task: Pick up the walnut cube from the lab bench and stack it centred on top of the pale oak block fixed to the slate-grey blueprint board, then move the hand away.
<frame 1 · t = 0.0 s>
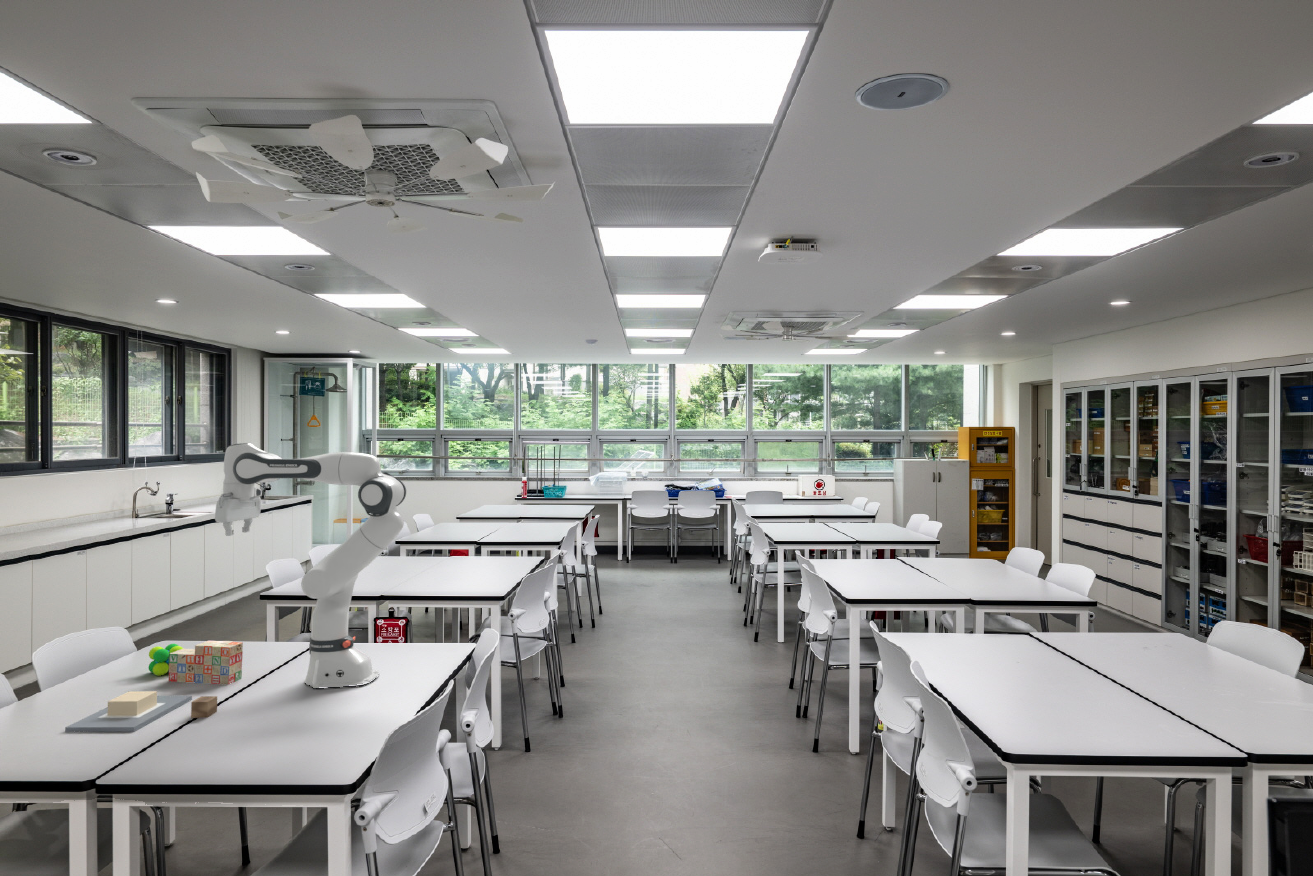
hand: (237, 533, 226), 48 cm above the table, tool pointing down, fingers open, 8 cm apart
blueprint board: (132, 714, 195), on the table
molecule model: (166, 673, 232), on the table
stack of blocks: (205, 681, 225), on the table
walnut cube: (204, 715, 196), on the table
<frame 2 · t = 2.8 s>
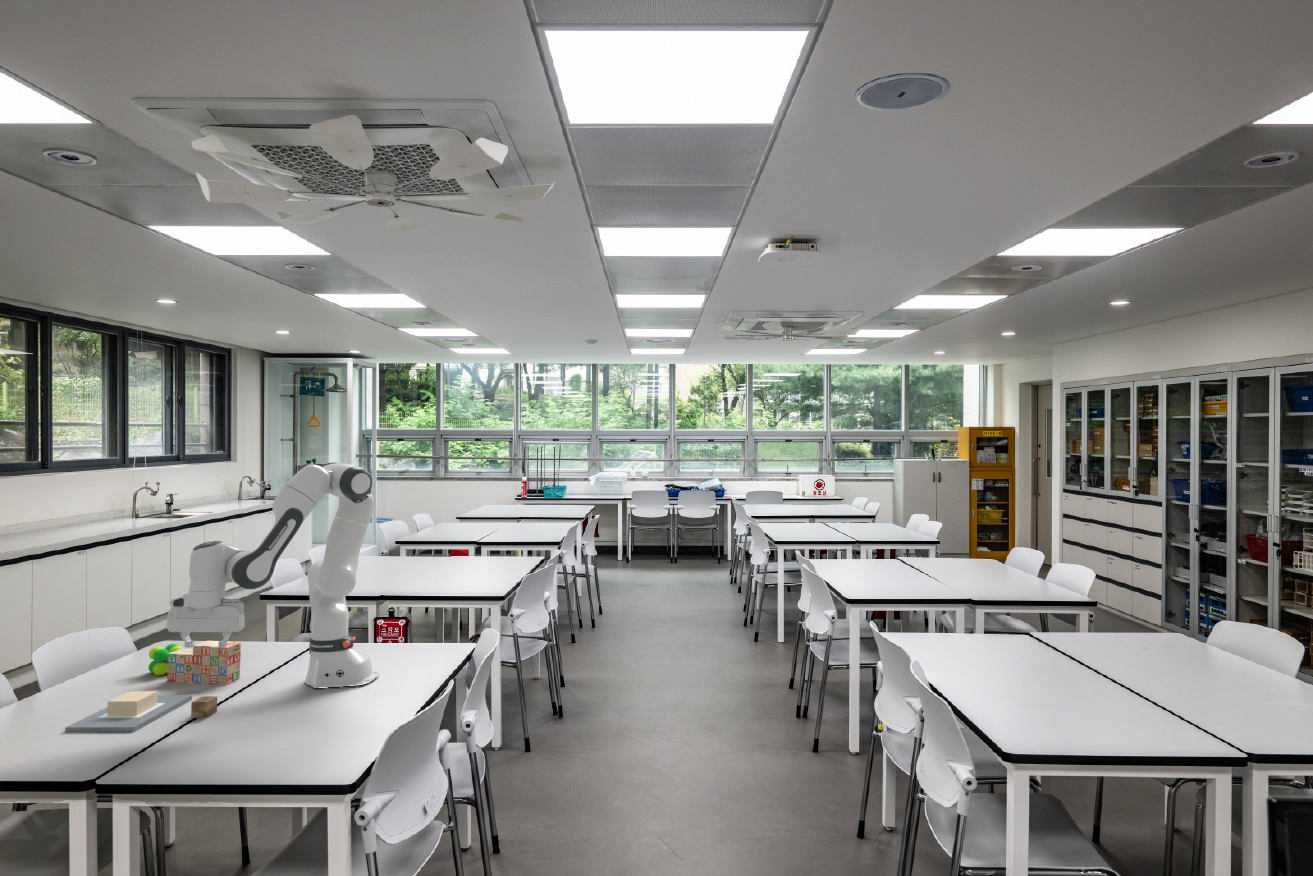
hand: (205, 647, 196), 19 cm above the table, tool pointing down, fingers open, 8 cm apart
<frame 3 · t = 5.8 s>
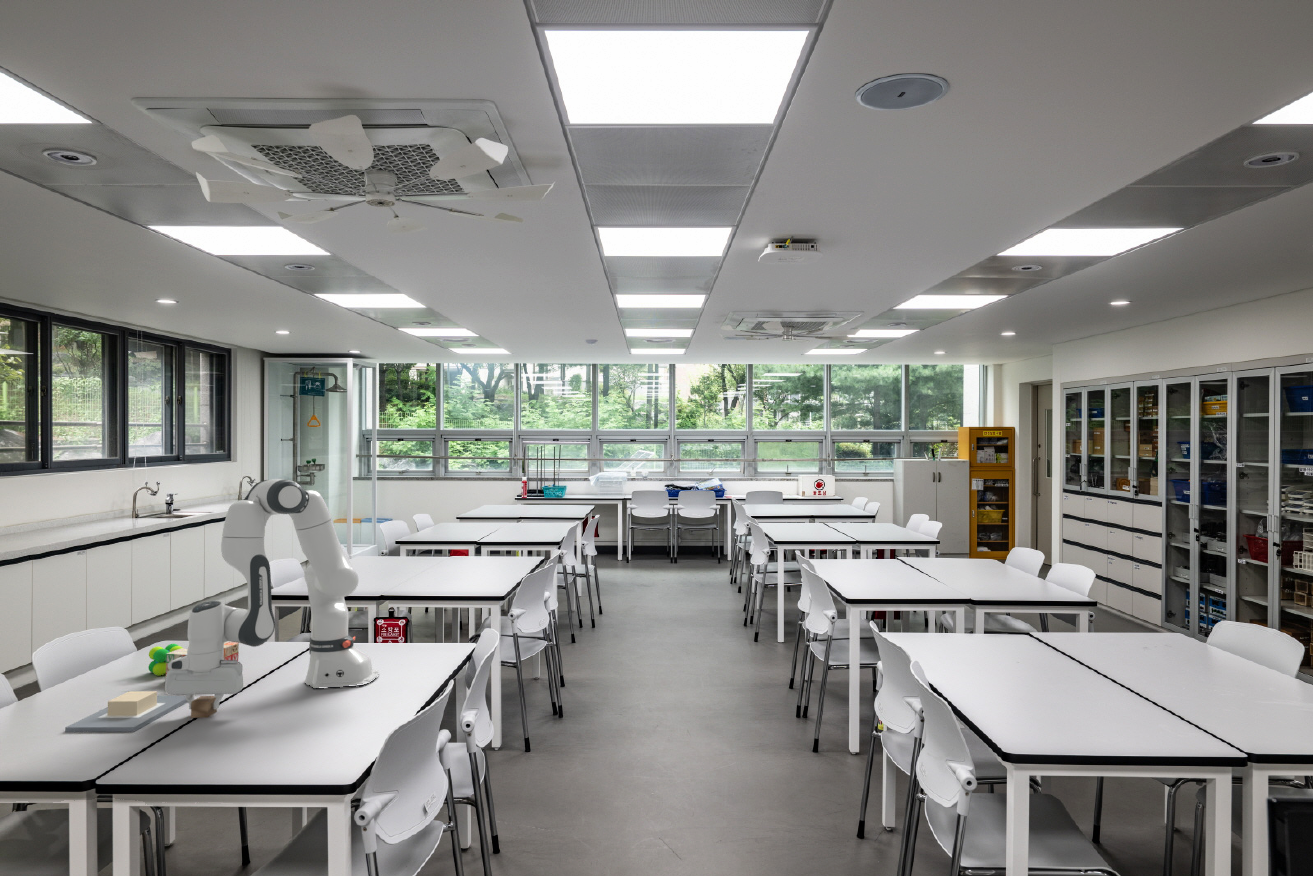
hand: (204, 708, 196), 2 cm above the table, tool pointing down, fingers closed on walnut cube, 4 cm apart
walnut cube: (204, 714, 196), on the table, touching gripper
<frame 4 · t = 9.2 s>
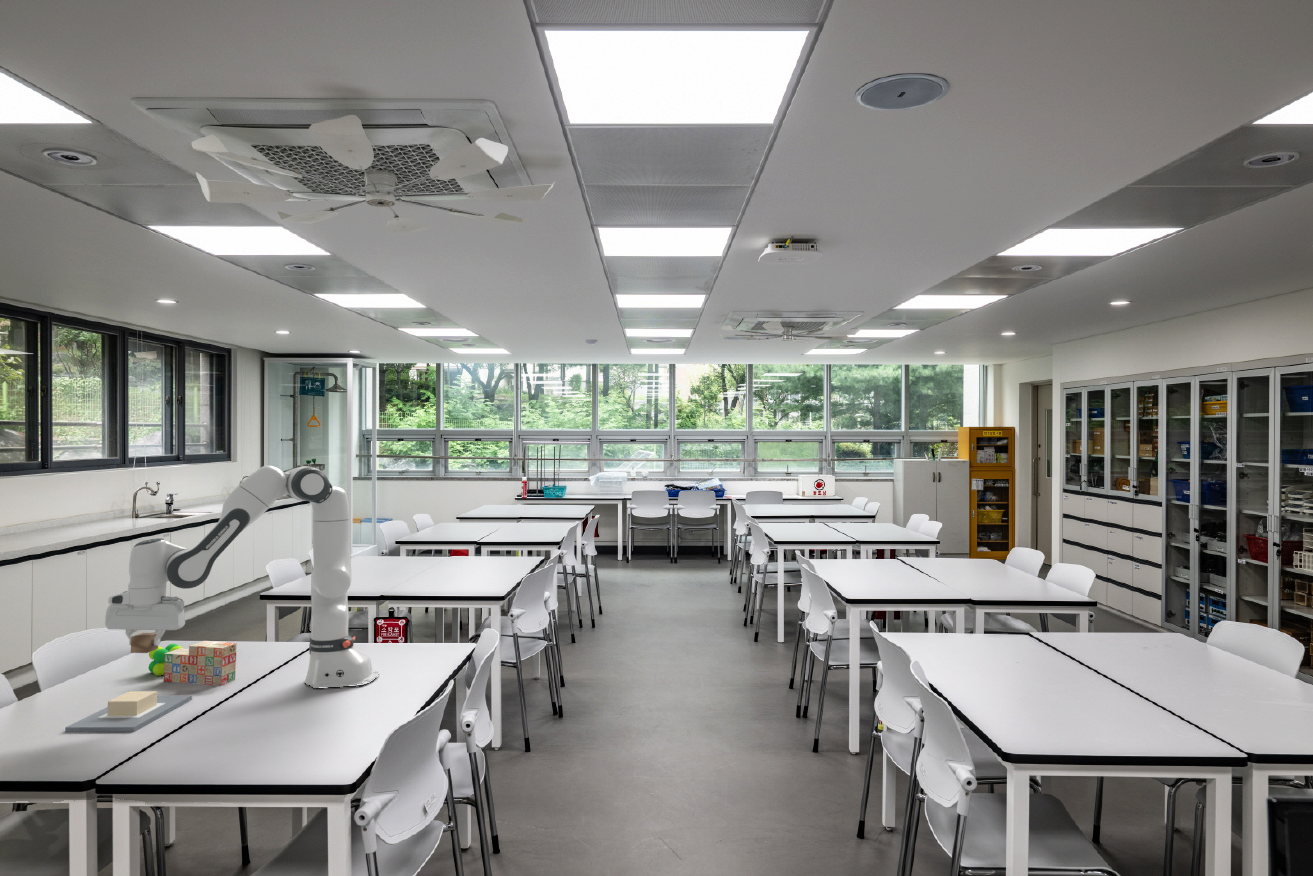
hand: (144, 645, 195), 20 cm above the table, tool pointing down, fingers closed on walnut cube, 4 cm apart
walnut cube: (144, 650, 195), point 18 cm above the table, touching gripper
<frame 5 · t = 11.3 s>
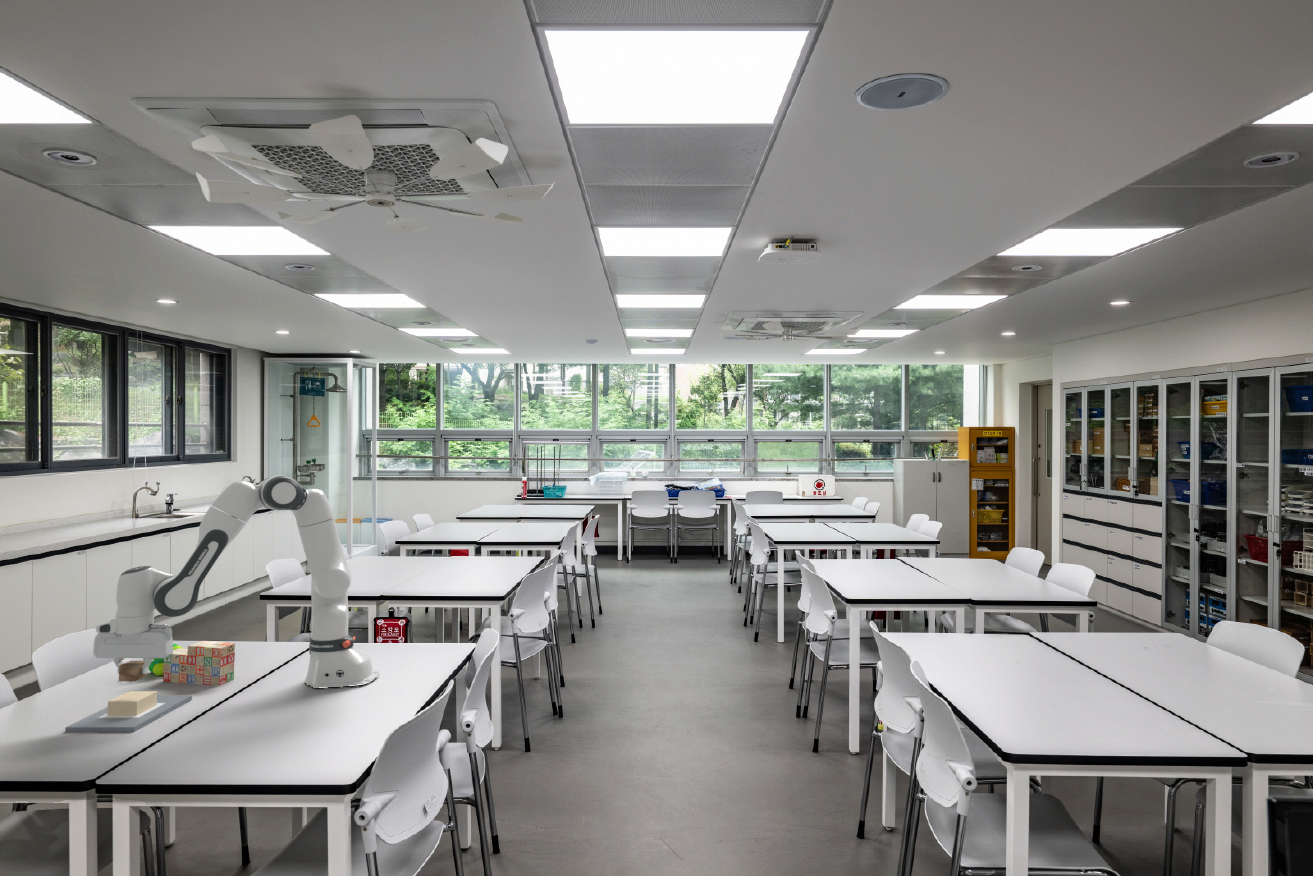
hand: (133, 673, 195), 12 cm above the table, tool pointing down, fingers closed on walnut cube, 4 cm apart
walnut cube: (132, 678, 195), point 10 cm above the table, touching gripper
when the fingers open (9 cm above the table, at t = 13.0 s): walnut cube drops 2 cm, resting on blueprint board.
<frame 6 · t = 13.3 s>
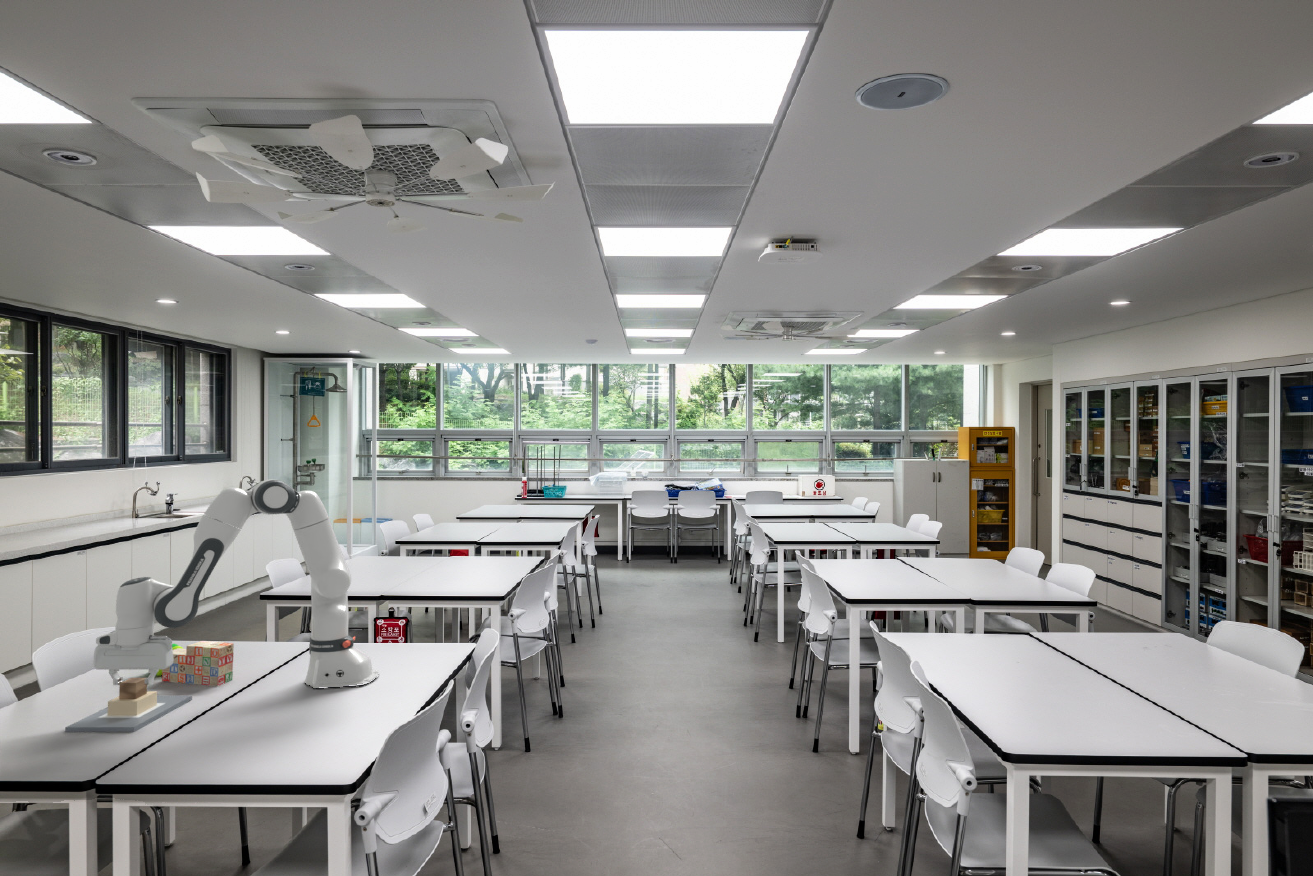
hand: (133, 684, 195), 9 cm above the table, tool pointing down, fingers open, 7 cm apart
walnut cube: (133, 696, 195), point 5 cm above the table, touching blueprint board
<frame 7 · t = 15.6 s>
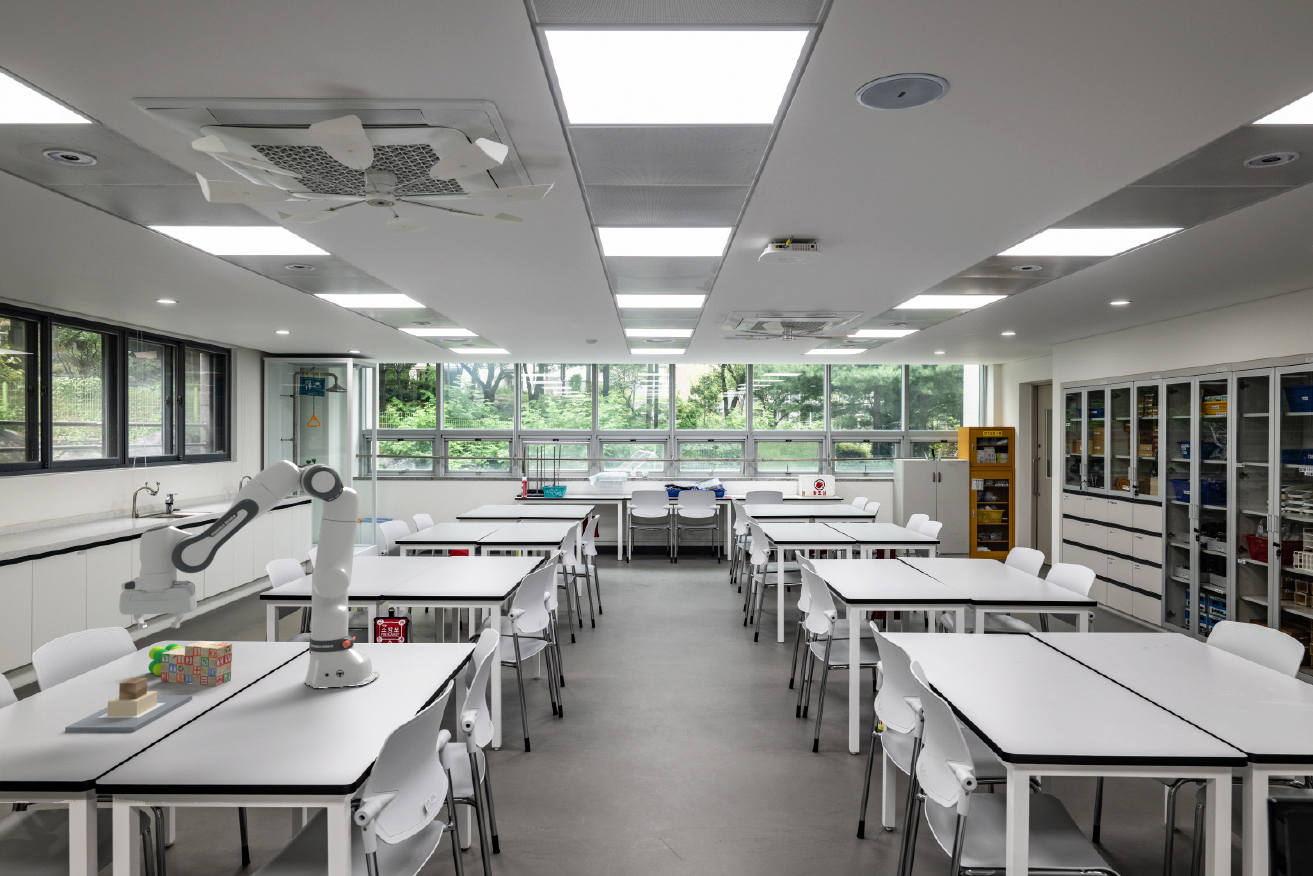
hand: (159, 628, 201), 23 cm above the table, tool pointing down, fingers open, 8 cm apart
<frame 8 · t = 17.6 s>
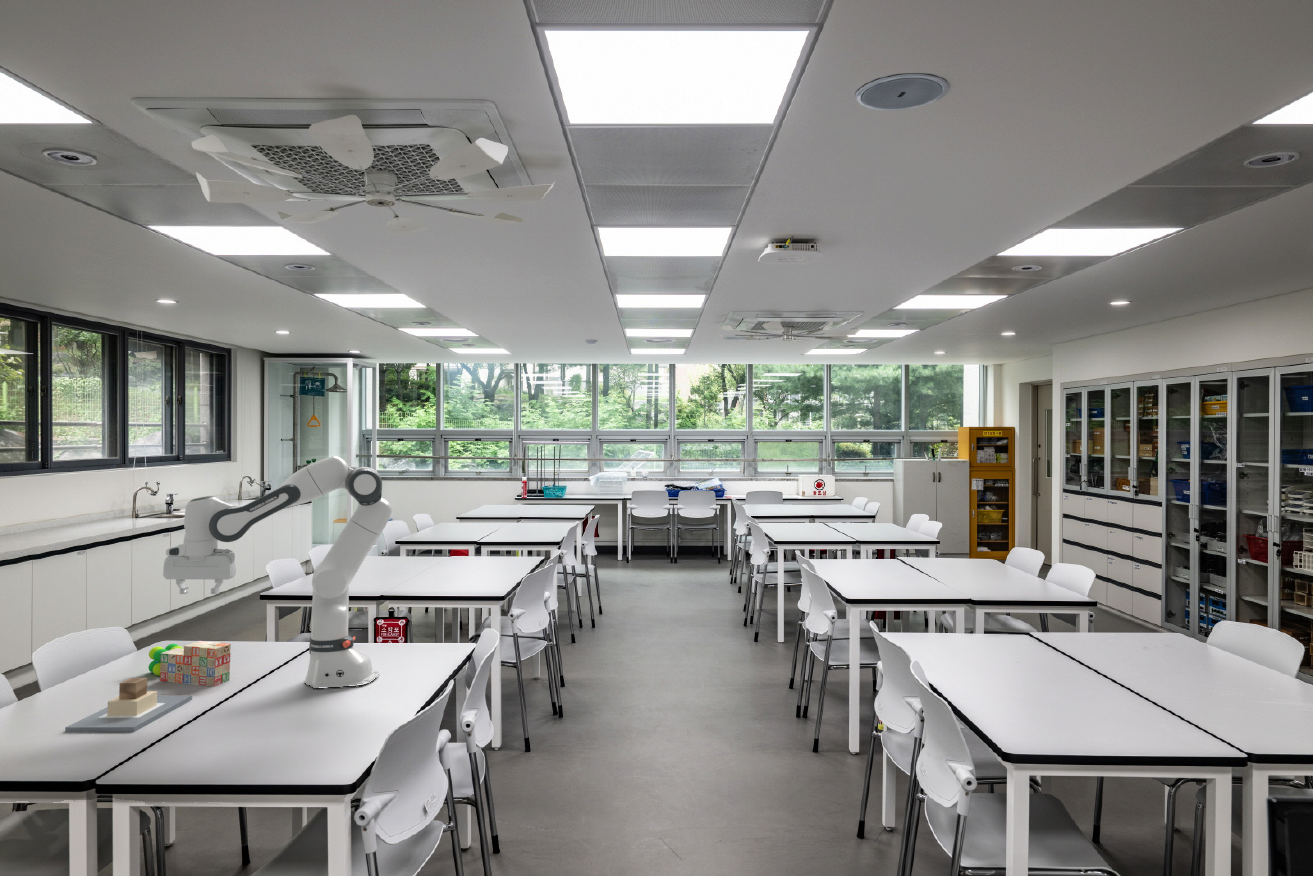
hand: (199, 593, 212), 31 cm above the table, tool pointing down, fingers open, 8 cm apart
at the end: walnut cube 0.1 cm off-centre on the blueprint board, point 5.2 cm above the blueprint board's base; walnut cube tilted 0°; the gripper is holding nothing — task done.
